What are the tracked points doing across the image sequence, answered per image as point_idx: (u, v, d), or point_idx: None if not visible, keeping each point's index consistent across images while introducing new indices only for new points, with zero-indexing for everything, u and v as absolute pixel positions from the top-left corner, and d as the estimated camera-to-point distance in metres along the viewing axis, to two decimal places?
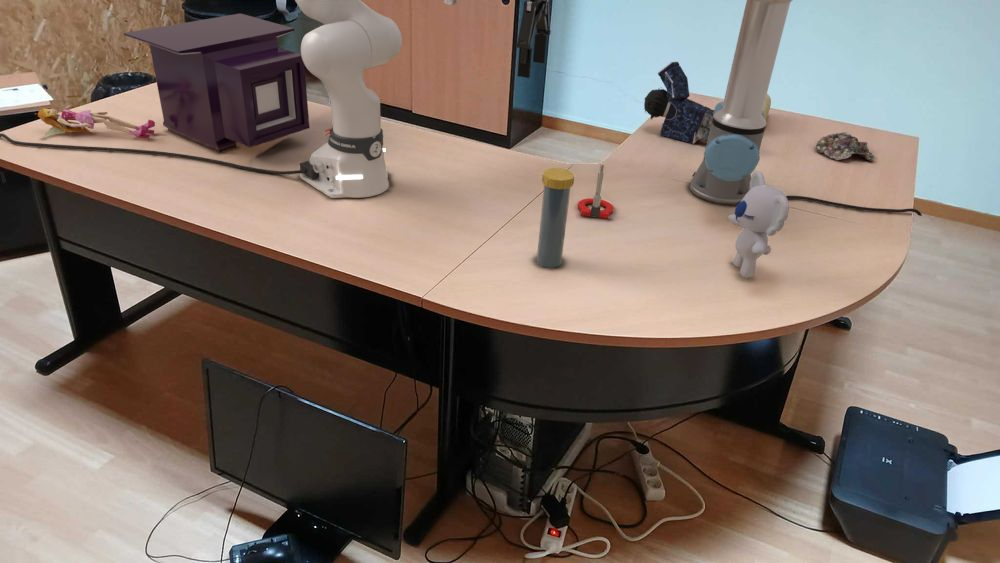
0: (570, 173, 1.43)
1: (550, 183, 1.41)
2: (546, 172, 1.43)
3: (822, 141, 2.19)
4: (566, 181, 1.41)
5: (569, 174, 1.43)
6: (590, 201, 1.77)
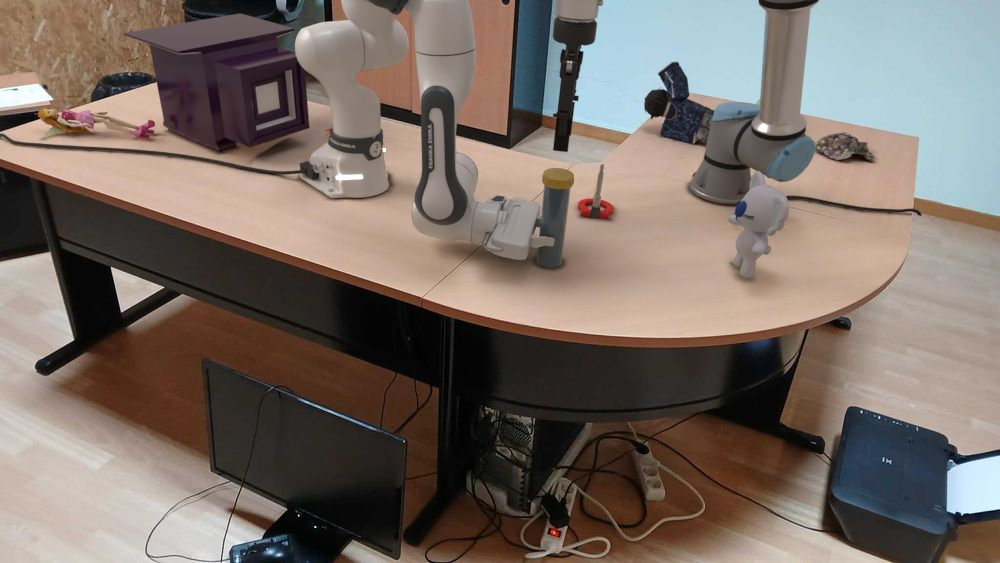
0: (570, 173, 1.43)
1: (550, 183, 1.41)
2: (546, 172, 1.43)
3: (822, 141, 2.19)
4: (566, 181, 1.41)
5: (569, 174, 1.43)
6: (590, 201, 1.77)
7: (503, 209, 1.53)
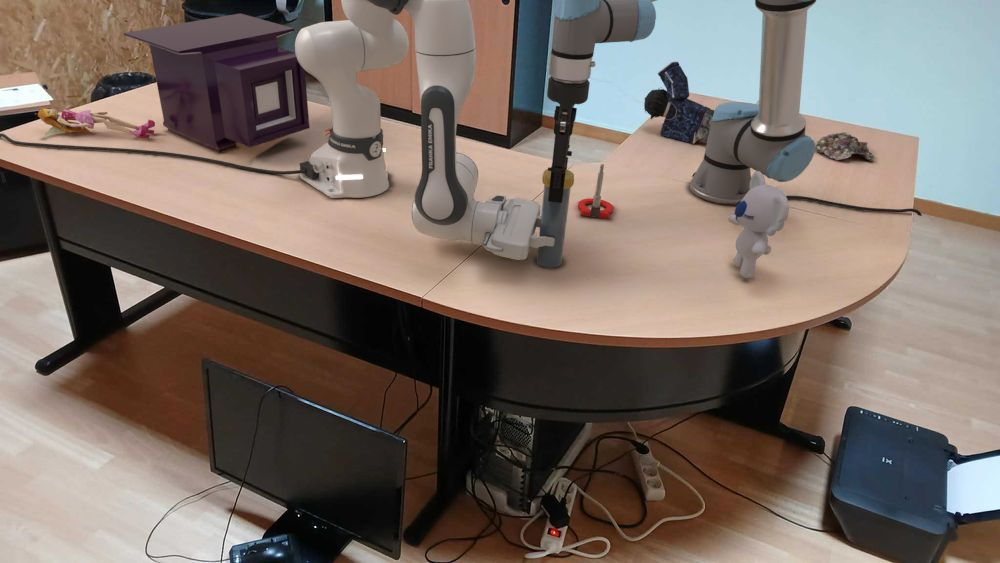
0: (570, 173, 1.43)
1: None
2: (546, 172, 1.43)
3: (822, 141, 2.19)
4: (566, 181, 1.41)
5: (569, 174, 1.43)
6: (590, 201, 1.77)
7: (503, 209, 1.53)
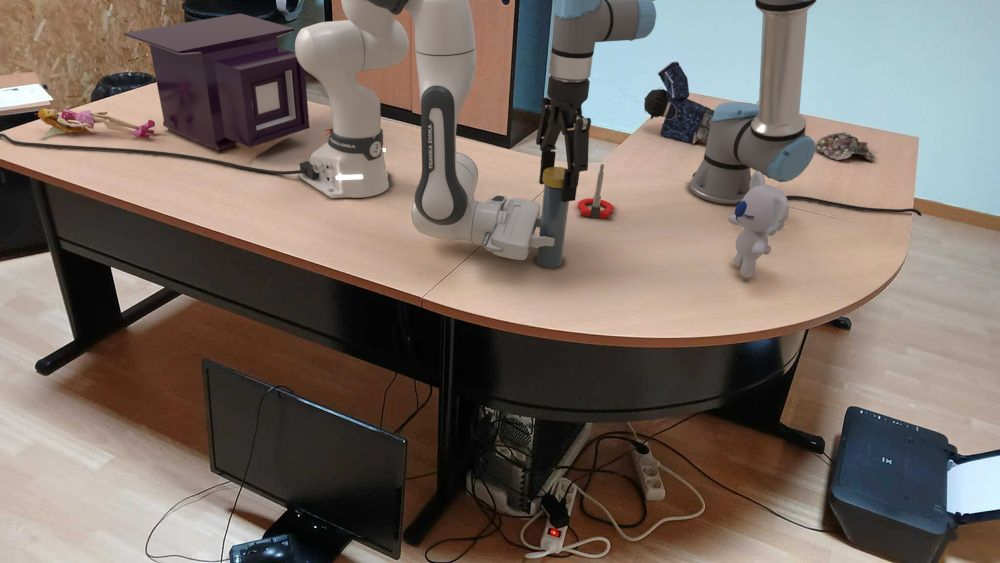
0: (553, 168, 1.45)
1: None
2: (559, 177, 1.41)
3: (822, 141, 2.19)
4: None
5: (556, 168, 1.44)
6: (590, 201, 1.77)
7: (503, 209, 1.53)
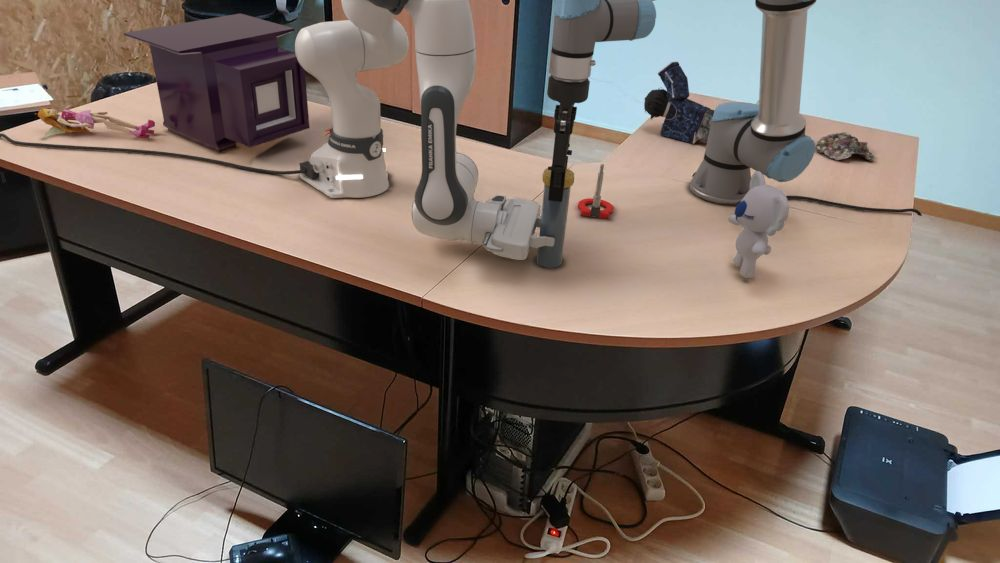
0: None
1: (573, 181, 1.42)
2: None
3: (822, 141, 2.19)
4: None
5: None
6: (590, 201, 1.77)
7: (503, 209, 1.53)
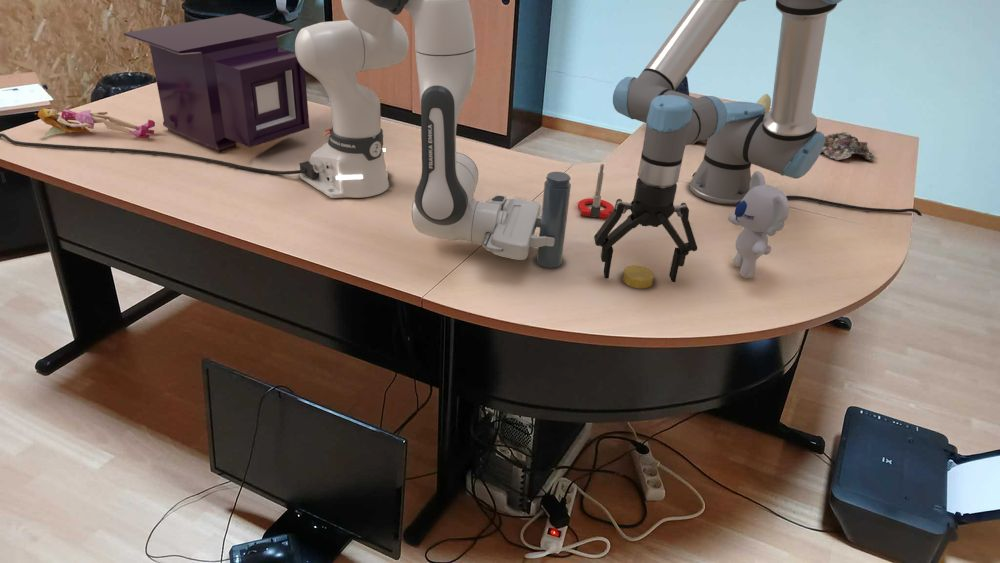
0: (629, 275, 1.47)
1: None
2: (650, 272, 1.48)
3: None
4: None
5: (629, 273, 1.47)
6: (590, 201, 1.77)
7: (503, 209, 1.53)
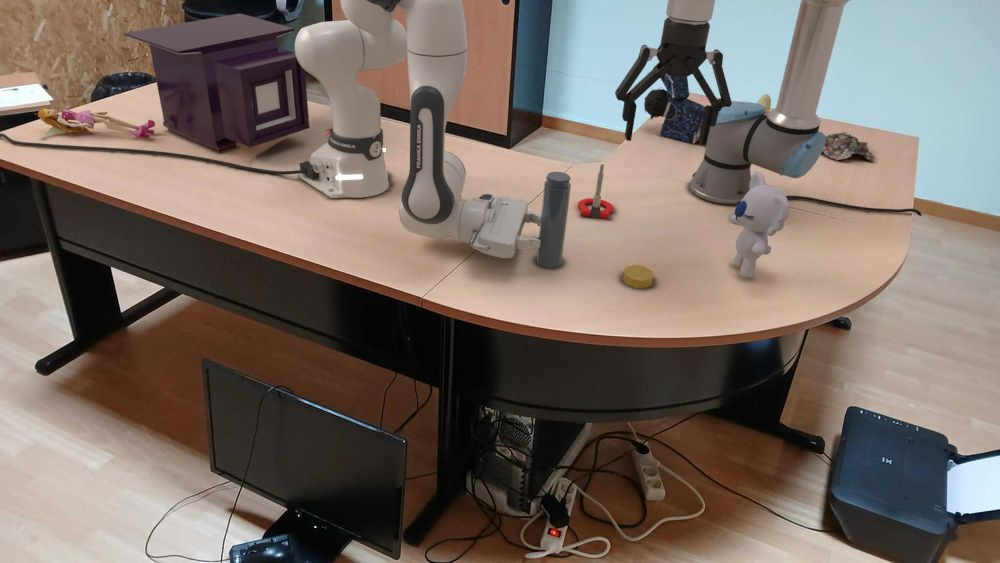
0: (629, 275, 1.47)
1: None
2: (650, 272, 1.48)
3: None
4: None
5: (629, 273, 1.47)
6: (590, 201, 1.77)
7: (491, 207, 1.53)
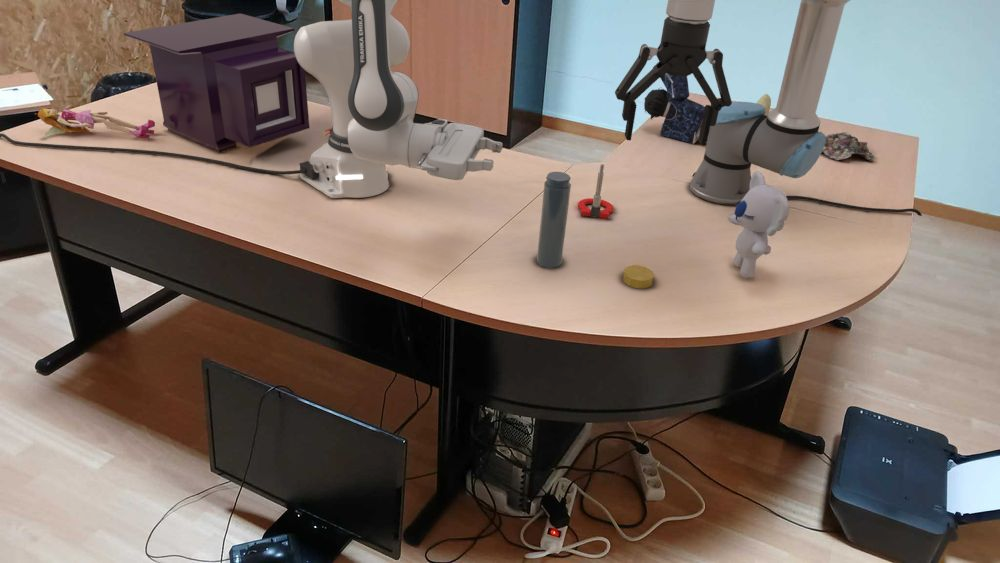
0: (629, 275, 1.47)
1: None
2: (650, 272, 1.48)
3: None
4: None
5: (629, 273, 1.47)
6: (590, 201, 1.77)
7: (443, 132, 1.46)
